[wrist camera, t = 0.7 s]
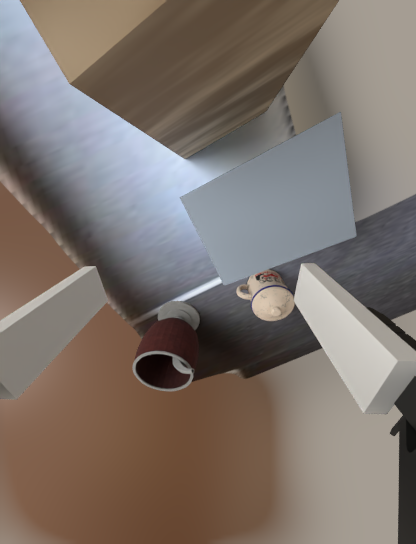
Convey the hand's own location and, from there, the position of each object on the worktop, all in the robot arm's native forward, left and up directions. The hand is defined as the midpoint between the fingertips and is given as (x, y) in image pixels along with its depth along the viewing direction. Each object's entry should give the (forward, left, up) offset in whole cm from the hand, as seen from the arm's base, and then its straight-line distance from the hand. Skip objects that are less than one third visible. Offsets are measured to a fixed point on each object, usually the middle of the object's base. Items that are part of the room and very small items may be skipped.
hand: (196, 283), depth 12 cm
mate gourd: (+23, -21, -31) cm, 43 cm away
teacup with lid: (+21, +3, -31) cm, 37 cm away
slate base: (+1, +7, -30) cm, 31 cm away
